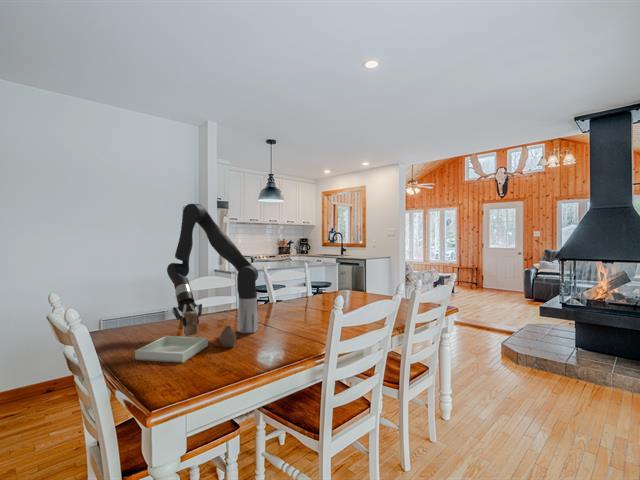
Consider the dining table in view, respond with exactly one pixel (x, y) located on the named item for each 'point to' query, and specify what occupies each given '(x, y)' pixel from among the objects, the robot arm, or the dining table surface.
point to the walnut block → (190, 323)
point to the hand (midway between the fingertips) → (191, 324)
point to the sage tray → (171, 349)
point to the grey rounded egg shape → (227, 337)
